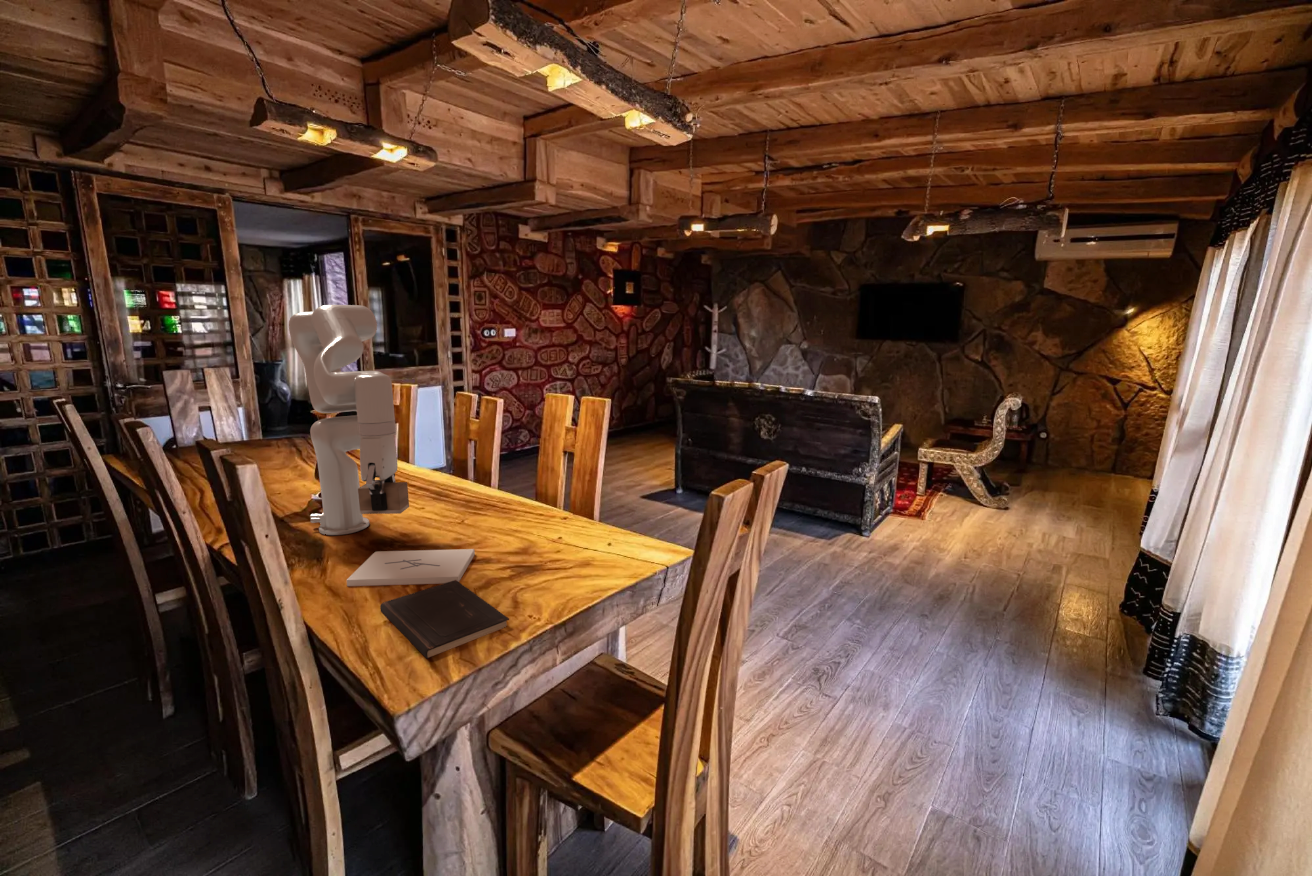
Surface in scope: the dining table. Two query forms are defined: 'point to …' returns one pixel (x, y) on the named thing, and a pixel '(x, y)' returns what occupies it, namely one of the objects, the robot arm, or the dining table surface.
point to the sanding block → (394, 495)
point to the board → (412, 567)
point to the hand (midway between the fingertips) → (384, 505)
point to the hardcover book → (442, 617)
